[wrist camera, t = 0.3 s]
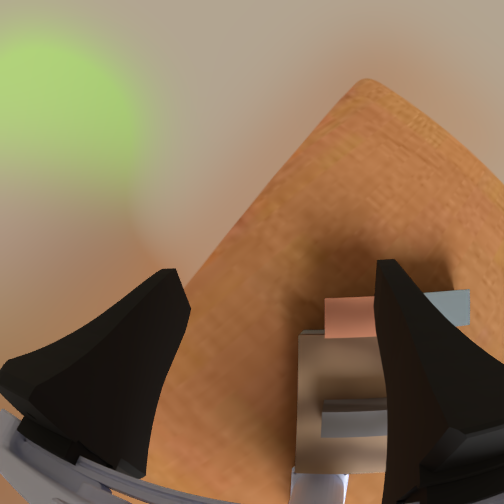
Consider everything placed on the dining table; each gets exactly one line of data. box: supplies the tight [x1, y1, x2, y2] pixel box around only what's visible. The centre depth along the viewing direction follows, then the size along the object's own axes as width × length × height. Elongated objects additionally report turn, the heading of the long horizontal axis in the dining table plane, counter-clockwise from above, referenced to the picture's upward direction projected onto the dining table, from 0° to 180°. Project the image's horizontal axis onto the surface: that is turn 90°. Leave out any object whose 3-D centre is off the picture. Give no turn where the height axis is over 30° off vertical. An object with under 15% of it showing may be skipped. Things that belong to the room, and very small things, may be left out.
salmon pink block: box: [325, 296, 377, 338], centre depth 30 cm, size 4×8×2 cm, turn 92°
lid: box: [295, 296, 387, 474], centre depth 29 cm, size 22×14×6 cm, turn 2°
